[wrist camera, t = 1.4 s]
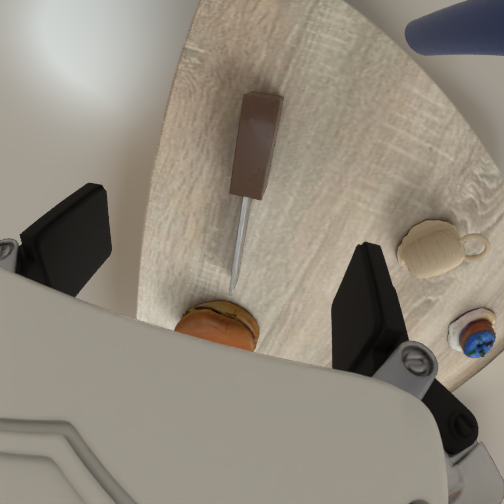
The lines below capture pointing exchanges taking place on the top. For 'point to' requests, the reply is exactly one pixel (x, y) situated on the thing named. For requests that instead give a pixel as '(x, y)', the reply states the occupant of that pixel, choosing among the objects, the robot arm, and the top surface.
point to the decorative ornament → (436, 249)
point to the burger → (220, 325)
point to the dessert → (473, 333)
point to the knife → (253, 159)
